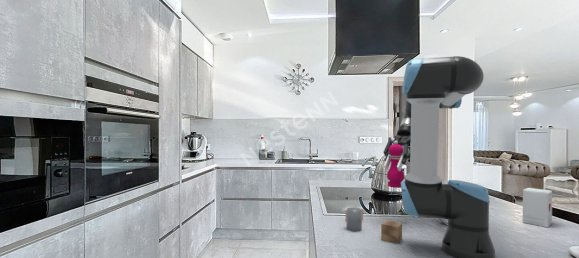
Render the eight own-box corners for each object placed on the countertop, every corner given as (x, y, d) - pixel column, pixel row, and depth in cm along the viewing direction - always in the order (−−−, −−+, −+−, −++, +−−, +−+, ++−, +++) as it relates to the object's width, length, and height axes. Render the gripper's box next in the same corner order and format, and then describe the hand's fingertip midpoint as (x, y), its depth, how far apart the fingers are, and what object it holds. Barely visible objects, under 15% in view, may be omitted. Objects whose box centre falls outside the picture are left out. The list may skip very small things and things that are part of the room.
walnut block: (402, 239, 109) (402, 223, 109) (398, 244, 104) (398, 227, 104) (385, 235, 112) (385, 220, 112) (381, 240, 107) (381, 224, 107)
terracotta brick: (362, 220, 132) (363, 209, 132) (353, 224, 126) (353, 212, 126) (355, 218, 135) (355, 207, 135) (345, 221, 129) (345, 210, 129)
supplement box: (548, 228, 124) (548, 192, 124) (522, 222, 131) (522, 189, 131) (552, 223, 130) (552, 190, 130) (527, 219, 137) (527, 187, 137)
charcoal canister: (364, 229, 119) (364, 209, 119) (356, 232, 115) (356, 212, 115) (351, 225, 123) (351, 206, 123) (343, 229, 119) (343, 209, 119)
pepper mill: (385, 187, 125) (385, 140, 125) (388, 184, 131) (388, 140, 131) (403, 188, 122) (403, 141, 122) (405, 185, 128) (405, 140, 128)
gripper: (429, 136, 132) (415, 176, 120) (391, 135, 144) (375, 171, 132) (425, 124, 128) (411, 164, 116) (386, 124, 140) (369, 160, 128)
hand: (392, 168), depth 124 cm, fingers closed on pepper mill, 5 cm apart
